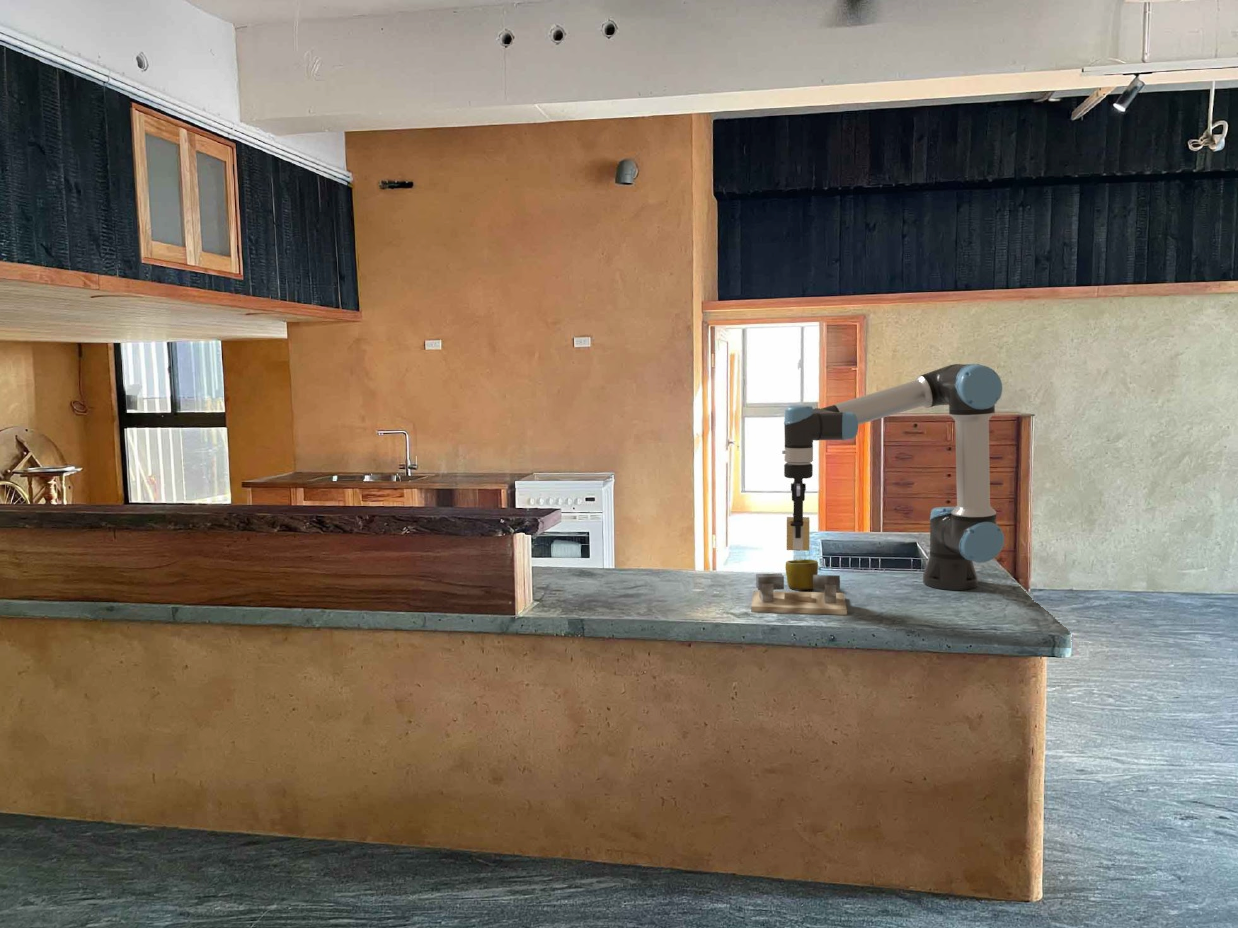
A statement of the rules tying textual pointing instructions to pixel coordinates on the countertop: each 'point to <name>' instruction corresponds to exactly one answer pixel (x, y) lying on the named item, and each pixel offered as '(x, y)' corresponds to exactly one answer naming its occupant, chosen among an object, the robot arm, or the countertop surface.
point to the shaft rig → (798, 596)
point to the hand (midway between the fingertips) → (797, 546)
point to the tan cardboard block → (805, 533)
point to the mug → (801, 573)
